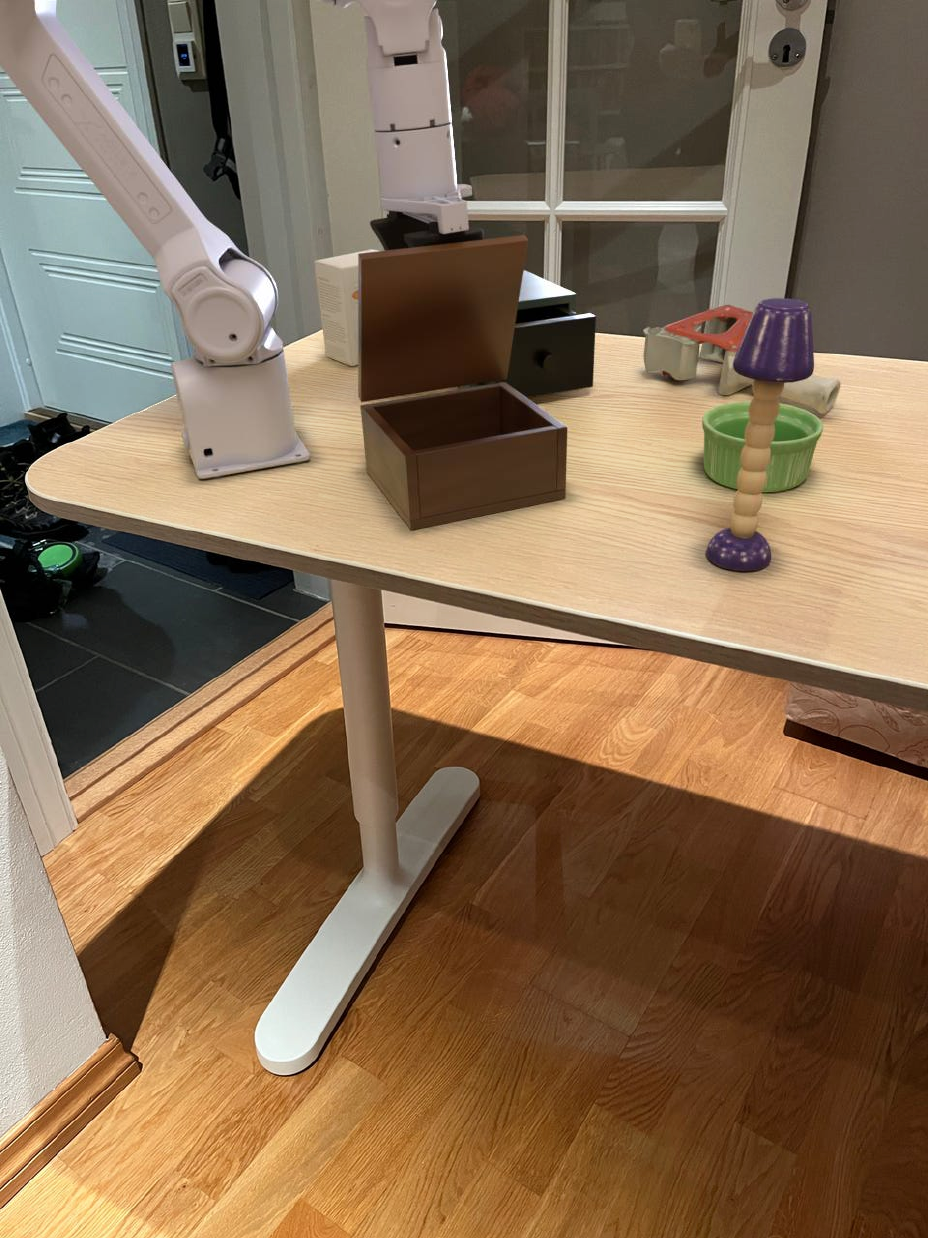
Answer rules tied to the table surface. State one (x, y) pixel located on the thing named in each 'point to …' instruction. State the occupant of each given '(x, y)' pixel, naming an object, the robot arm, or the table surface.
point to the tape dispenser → (722, 355)
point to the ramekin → (787, 448)
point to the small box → (339, 305)
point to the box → (464, 453)
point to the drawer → (551, 351)
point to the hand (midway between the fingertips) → (433, 315)
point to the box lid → (437, 315)
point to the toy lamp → (762, 420)
